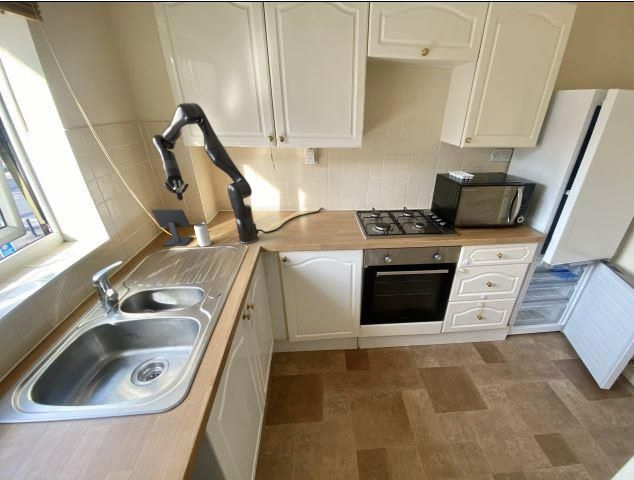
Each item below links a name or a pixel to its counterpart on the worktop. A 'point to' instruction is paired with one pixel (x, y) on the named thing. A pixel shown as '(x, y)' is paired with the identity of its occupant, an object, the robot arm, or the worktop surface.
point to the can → (202, 234)
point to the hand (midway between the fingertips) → (180, 199)
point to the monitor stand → (176, 237)
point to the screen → (171, 217)
